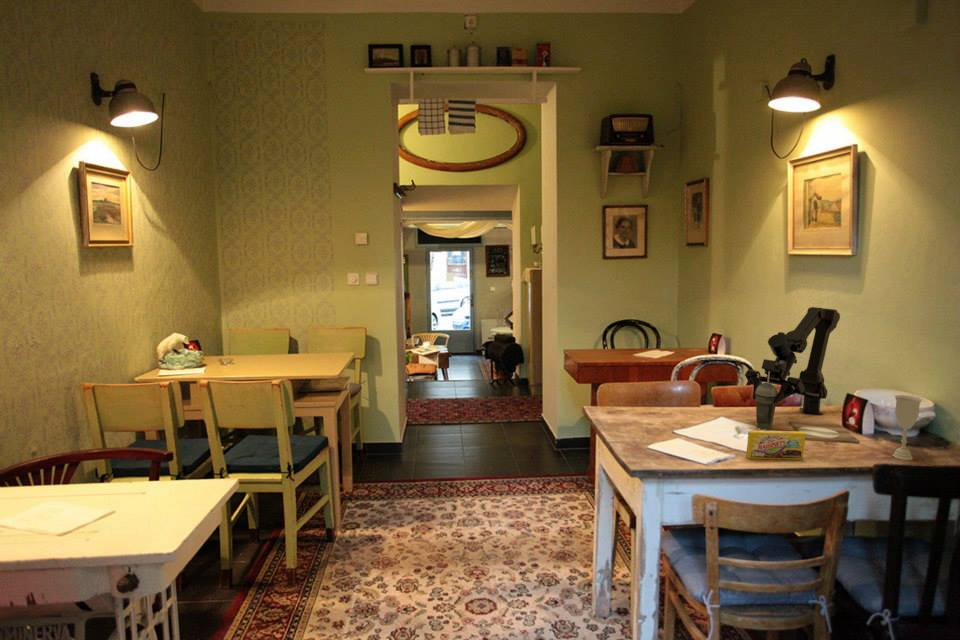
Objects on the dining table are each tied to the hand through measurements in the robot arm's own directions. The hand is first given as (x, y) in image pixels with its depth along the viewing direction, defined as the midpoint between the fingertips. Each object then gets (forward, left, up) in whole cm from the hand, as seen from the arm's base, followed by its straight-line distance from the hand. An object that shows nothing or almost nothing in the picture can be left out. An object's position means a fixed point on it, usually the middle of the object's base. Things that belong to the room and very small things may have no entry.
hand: (764, 401), depth 220 cm
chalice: (+21, +35, -10) cm, 42 cm away
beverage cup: (-1, +1, -10) cm, 10 cm away
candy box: (+31, -3, -10) cm, 33 cm away
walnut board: (0, +19, -10) cm, 21 cm away
